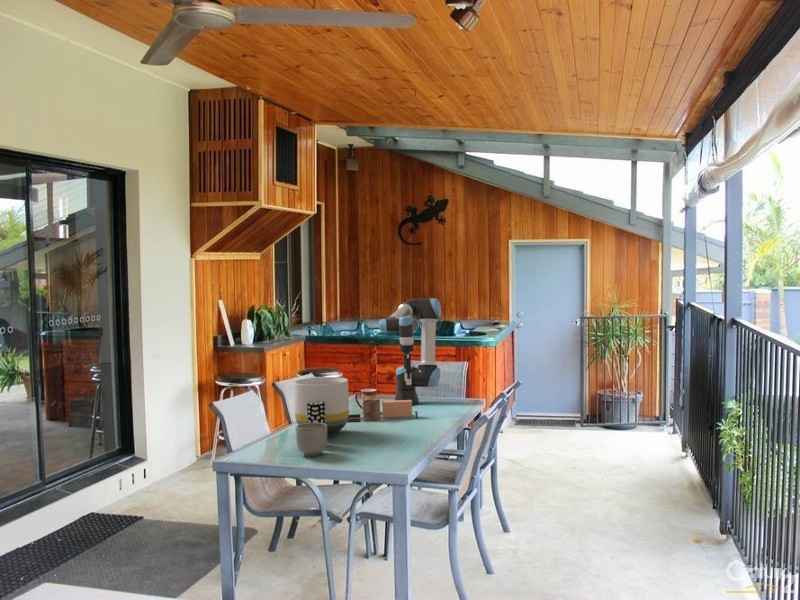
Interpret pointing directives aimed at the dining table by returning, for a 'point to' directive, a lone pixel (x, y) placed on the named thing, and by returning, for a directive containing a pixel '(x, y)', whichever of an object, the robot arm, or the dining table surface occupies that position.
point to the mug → (365, 395)
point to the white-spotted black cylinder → (316, 412)
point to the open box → (371, 408)
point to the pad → (397, 419)
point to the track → (397, 417)
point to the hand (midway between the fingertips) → (408, 382)
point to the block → (397, 408)
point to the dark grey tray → (354, 418)
